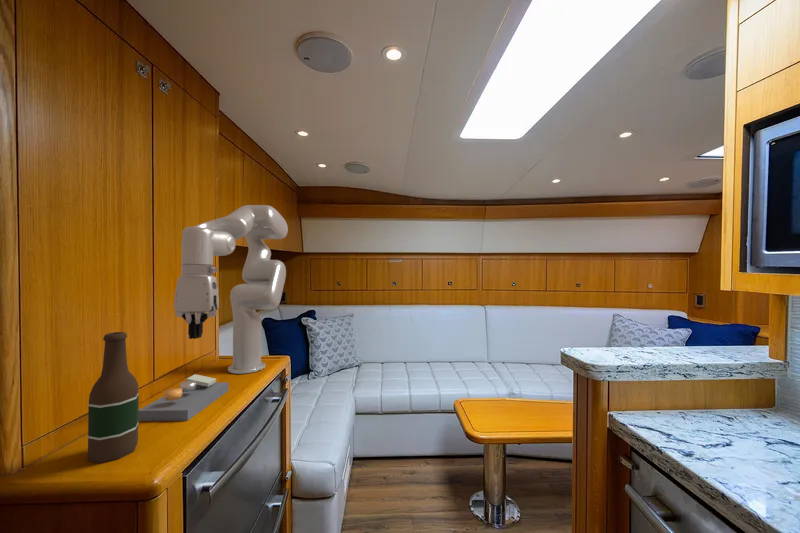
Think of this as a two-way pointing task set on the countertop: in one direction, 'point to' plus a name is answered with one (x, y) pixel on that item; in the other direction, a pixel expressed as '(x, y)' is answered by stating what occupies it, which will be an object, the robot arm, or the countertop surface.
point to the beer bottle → (113, 405)
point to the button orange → (173, 394)
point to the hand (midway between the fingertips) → (195, 337)
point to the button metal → (188, 386)
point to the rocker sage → (202, 380)
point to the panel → (183, 404)
